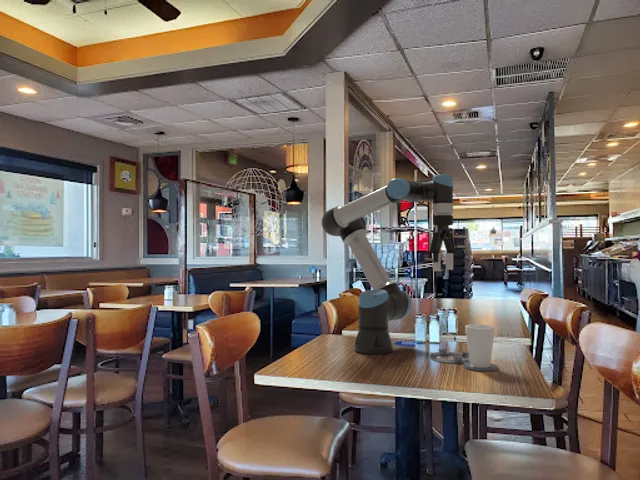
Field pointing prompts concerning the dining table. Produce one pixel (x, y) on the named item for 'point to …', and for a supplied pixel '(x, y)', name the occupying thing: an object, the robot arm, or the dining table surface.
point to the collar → (444, 352)
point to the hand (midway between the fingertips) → (443, 270)
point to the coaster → (480, 369)
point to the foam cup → (480, 344)
